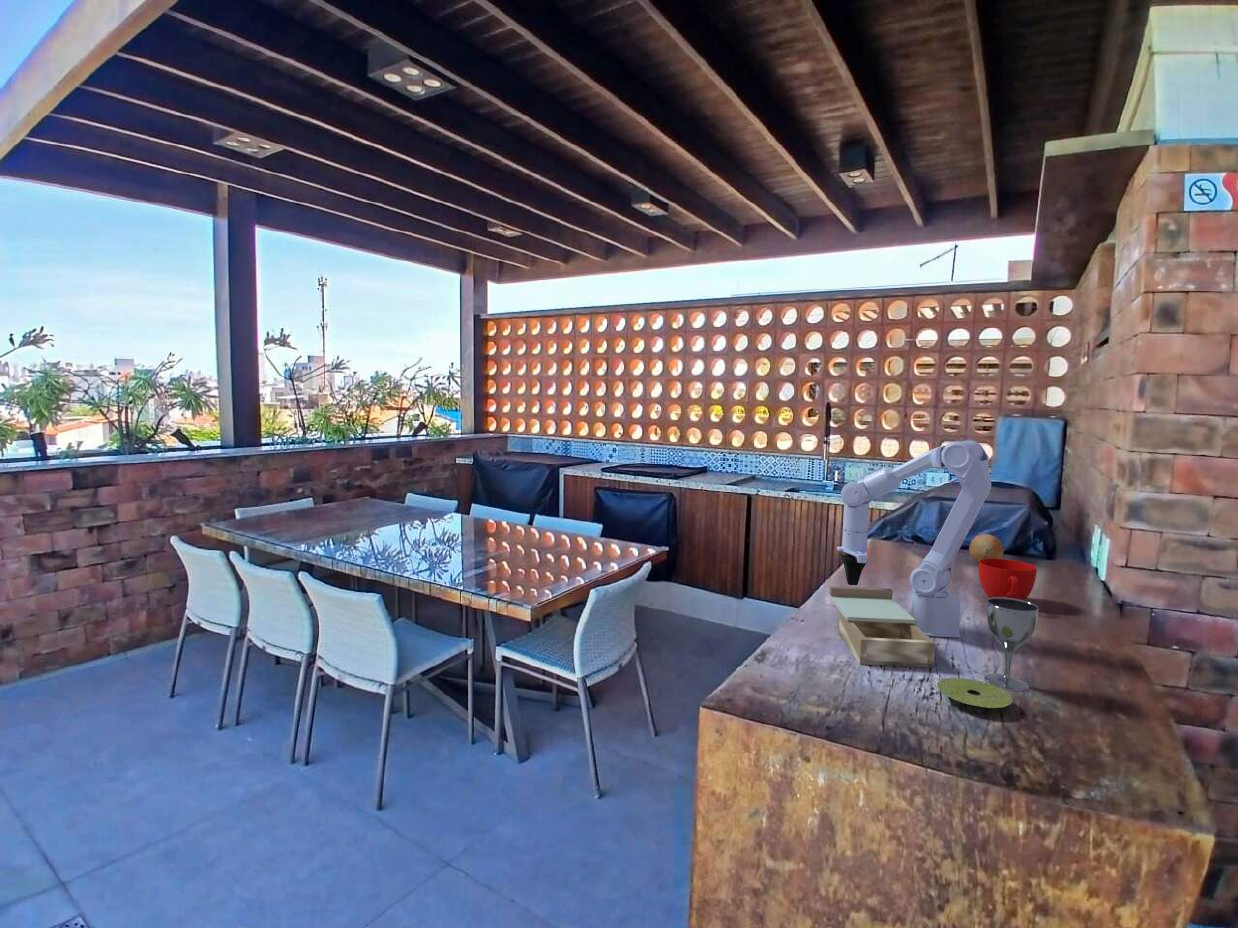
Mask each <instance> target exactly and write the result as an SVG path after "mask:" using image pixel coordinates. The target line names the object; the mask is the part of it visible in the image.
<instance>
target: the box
mask: <svg viewBox="0 0 1238 928" xmlns="http://www.w3.org/2000/svg"><path fill="white" fill-rule="evenodd" d="M838 625H839V626H838V635H839V637H840V638H841V640H842V641H843V642H844V644H845V645H846V647H848V648H847V649H848V650H849V651H850V652H851V653H852V655H853V656H854V658H855V660H856V661H857V662H858V663H859V665H873V666H874V665H875V666H891V667H892V666H893V667H894V666H895V667H911V668H914V667H915V668H930V669H932V668H935V653H936V652H935V650H936V642H934V640H932V638H931V637H930V636H927V635H926V634H925V633H924V632H923V631H922V630H920V629H919V628H918V627H917V626H916V625H915V624H912V623H890V622H868V621H847V620H846V618H845V617H844V616H843V614H842V613H841V612H839V624H838Z"/></svg>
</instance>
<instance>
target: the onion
mask: <svg viewBox="0 0 1238 928" xmlns="http://www.w3.org/2000/svg"><path fill="white" fill-rule="evenodd" d="M968 550H969V555H970V557H971V558H972V559H973V561H975V562H976V561H978V562H979V561H980V560H982V559H1003V556H1004V552H1005V551H1004V546H1003V543H1002V542H1001V540H1000V539H999V538H998V537H996V536H995V535H992V534H990V533H989V534H987V533H982V534H981V533H980V534H978V535H977V536H975V537H974V538H973V539H972V540H971V541H970V544H969V549H968ZM978 562H977V563H978Z"/></svg>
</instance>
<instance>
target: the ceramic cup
mask: <svg viewBox="0 0 1238 928" xmlns="http://www.w3.org/2000/svg"><path fill="white" fill-rule="evenodd" d="M1037 571H1038V569H1037V567H1036V566H1035V565H1033V564H1030V563H1026V562H1022V561H1020V560H1013V559H1007V558H1005V559H1004V558H1001V559H982V560H980V561H979V563H978V576H979V582H980V585H981V588H982V590H983V592H984V593H985V594H986V596H987V597H988V599H989V598H992V597H1006V598H1014V599H1019V600H1023V601H1025V600H1026V599H1027V598H1028V596H1029V595H1030V594H1031V592H1032V591H1033V589H1034V585H1035V582H1036V579H1037Z"/></svg>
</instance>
